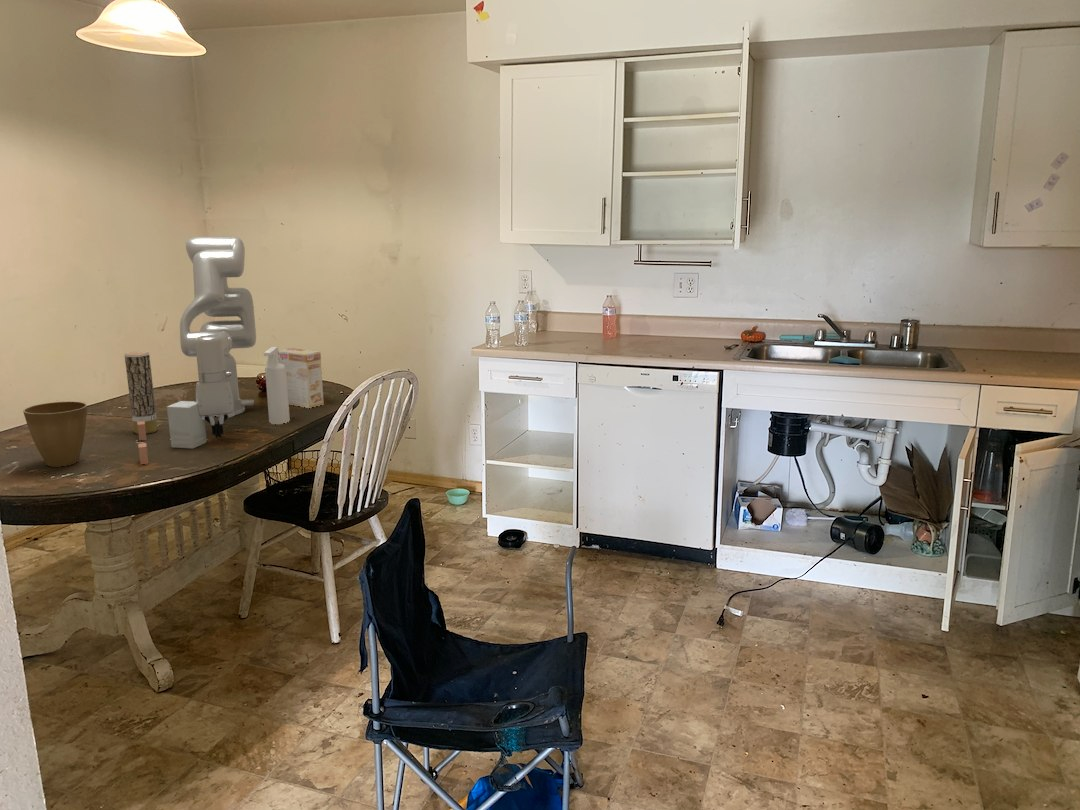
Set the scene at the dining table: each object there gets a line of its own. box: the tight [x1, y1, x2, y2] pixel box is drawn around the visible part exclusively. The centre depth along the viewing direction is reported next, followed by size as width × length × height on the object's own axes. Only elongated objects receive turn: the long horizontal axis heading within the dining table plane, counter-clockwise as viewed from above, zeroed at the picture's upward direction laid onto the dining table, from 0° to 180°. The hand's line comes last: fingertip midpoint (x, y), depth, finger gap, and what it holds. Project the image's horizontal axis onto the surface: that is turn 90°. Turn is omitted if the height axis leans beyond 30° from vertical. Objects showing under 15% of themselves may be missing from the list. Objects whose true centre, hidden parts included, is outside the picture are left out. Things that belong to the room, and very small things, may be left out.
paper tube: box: [124, 351, 159, 435], centre depth 250 cm, size 7×7×25 cm
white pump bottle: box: [263, 346, 291, 425], centre depth 263 cm, size 7×12×25 cm, turn 175°
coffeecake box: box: [277, 347, 325, 409], centre depth 286 cm, size 15×7×20 cm, turn 58°
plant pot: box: [22, 401, 88, 468], centre depth 220 cm, size 15×15×16 cm
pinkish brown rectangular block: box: [137, 421, 149, 466], centre depth 233 cm, size 2×30×5 cm, turn 27°
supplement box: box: [166, 400, 208, 449], centre depth 238 cm, size 7×7×13 cm
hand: (218, 436), depth 242 cm, fingers closed
